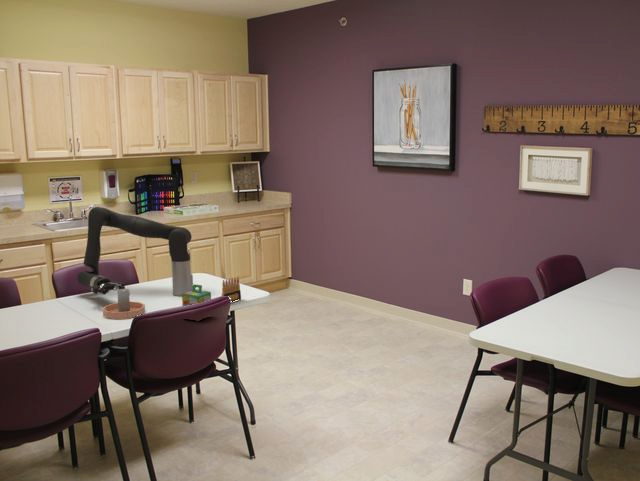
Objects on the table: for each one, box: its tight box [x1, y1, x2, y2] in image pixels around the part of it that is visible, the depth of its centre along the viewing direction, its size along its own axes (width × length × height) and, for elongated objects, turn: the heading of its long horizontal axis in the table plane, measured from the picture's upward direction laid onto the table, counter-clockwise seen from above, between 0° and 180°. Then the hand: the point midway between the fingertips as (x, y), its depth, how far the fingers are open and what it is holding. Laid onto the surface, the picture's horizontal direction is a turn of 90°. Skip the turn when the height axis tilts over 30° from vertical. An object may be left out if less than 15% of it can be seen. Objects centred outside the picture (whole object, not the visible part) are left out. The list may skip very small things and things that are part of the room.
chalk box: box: [181, 283, 212, 307], centre depth 271 cm, size 9×9×15 cm
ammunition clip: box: [221, 275, 242, 303], centre depth 296 cm, size 11×2×12 cm, turn 139°
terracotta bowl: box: [102, 301, 146, 320], centre depth 280 cm, size 18×18×3 cm
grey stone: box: [116, 288, 131, 312], centre depth 279 cm, size 5×5×10 cm
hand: (114, 290), depth 286 cm, fingers open, 8 cm apart
